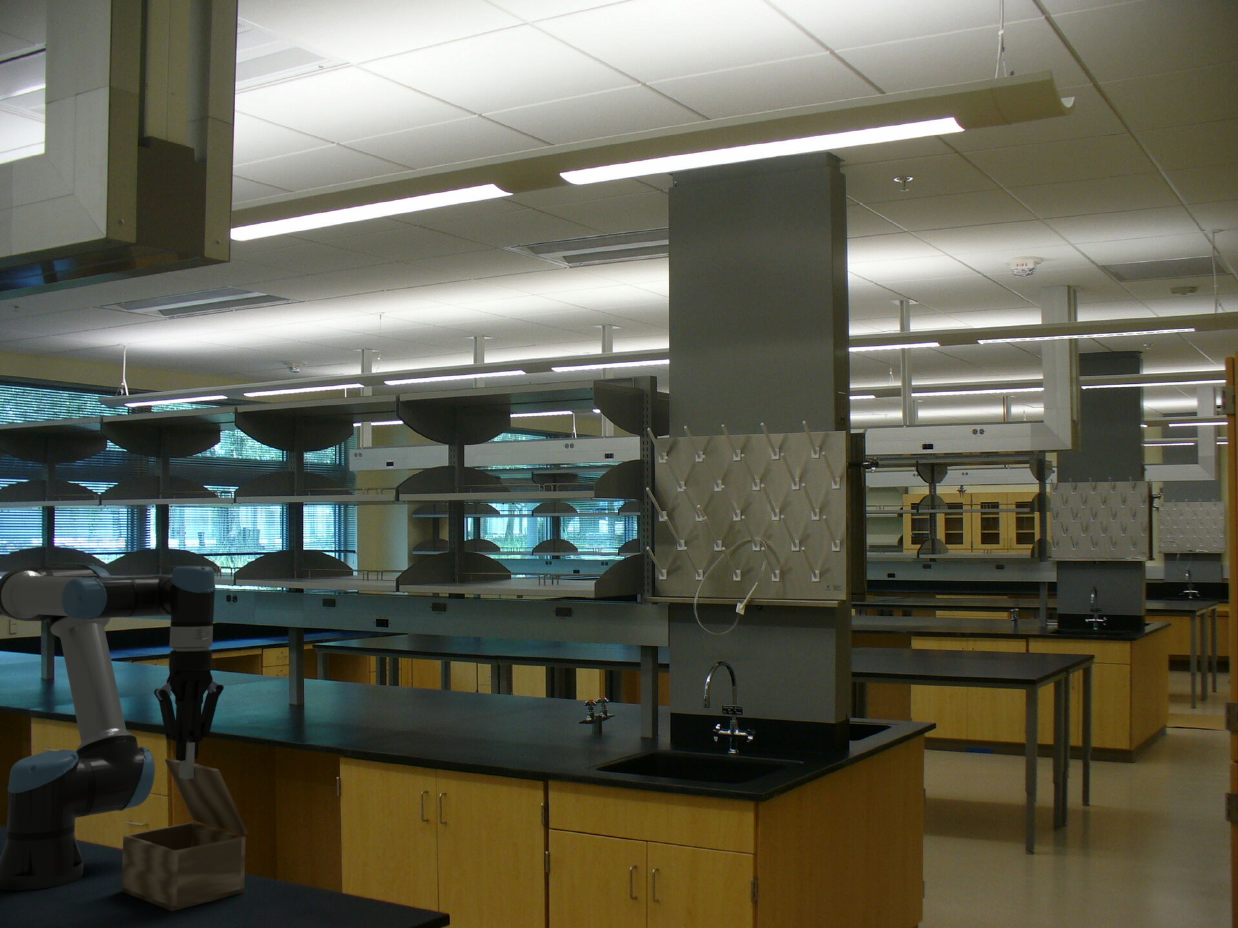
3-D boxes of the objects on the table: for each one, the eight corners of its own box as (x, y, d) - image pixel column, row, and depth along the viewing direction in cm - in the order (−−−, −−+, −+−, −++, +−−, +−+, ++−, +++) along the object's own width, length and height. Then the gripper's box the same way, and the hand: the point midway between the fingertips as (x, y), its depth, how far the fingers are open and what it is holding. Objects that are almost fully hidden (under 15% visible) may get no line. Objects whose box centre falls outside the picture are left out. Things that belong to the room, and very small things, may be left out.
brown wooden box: (121, 891, 207) (123, 835, 208) (191, 874, 218) (193, 821, 219) (172, 910, 196) (174, 851, 196) (244, 892, 206) (245, 836, 207)
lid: (164, 759, 215) (167, 757, 215) (193, 820, 219) (196, 817, 219) (215, 771, 203) (219, 768, 204) (245, 834, 207) (248, 832, 208)
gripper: (168, 651, 203) (163, 785, 201) (233, 648, 213) (229, 775, 211) (147, 649, 208) (142, 780, 206) (212, 646, 218) (207, 770, 216)
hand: (186, 777), depth 208 cm, fingers closed
